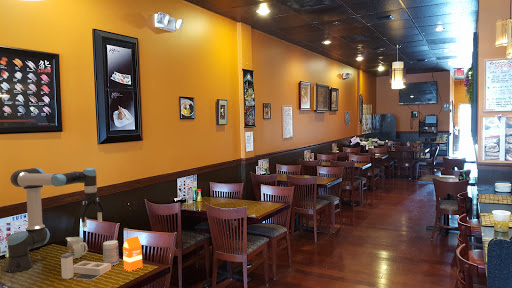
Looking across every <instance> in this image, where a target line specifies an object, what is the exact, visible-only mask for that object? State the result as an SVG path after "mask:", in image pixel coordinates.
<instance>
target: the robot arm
mask: <svg viewBox="0 0 512 288" xmlns="http://www.w3.org/2000/svg"><path fill="white" fill-rule="evenodd" d="M97 180H98V179H97V169H96V168H95V167H89V168H88V167H87V168H86V167H85V168H83V171H81V170H80V171H79V170H78V171H77V170H75V171H69V172H64V173H46V172H45V171H44V170H43V169H42V168H40V167H39V168H38V167H32V168H24V169H18V170H16V171H14V172H13V173H12V174H11V175H10V180H9V181H10V183H11V185H13V186H14V187H16V188H23V190H24V191H25V193H26V194H25V195H26V208H27V209H26V211H27V212H26V213H27V226H26V228H25V230H20V231H16V232H12V233H10V234H9V235H8V236H7V242H6V244H7V256H8V257H7V263H6V266H5V272H6V271H10V272H9V273H19V271H20V272H24V271H28V270H30V269H31V268H33V266H34V264H33V261H32V258H31V256H30V250H32V249H34V248H38V247H41V246H43V245H46V243H47V242H48V241H49V240H50V237H51V233H50V231H49V229H48V228H46V225H45V224H43V208H42V195H41V194H42V192H41V191H42V189H43V187H44V186H53V187H56V188H57V187H63V186H67V185H74V184H83V185H84V199H85V200H84V201H83V200H82V201H81V207H80V210H79V213H78V217H79V218H80V219H81V224H82V225H81V226H82V228H88V225H87V224H88V222H87V214H88V212H89V210H90V208H92V207H94V208H95V209H96V211H97V223H102V222H103V212H104V211H105V208H104V205H103V203H102V201H101V197H98V192H97V191H98V186H97V185H98V184H97Z"/></svg>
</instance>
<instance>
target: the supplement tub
mask: <svg viewBox="0 0 512 288" xmlns="http://www.w3.org/2000/svg"><path fill="white" fill-rule="evenodd" d="M102 253H103V254H102V255H103V256H102V257H103V263H111V267H113V265H114V266H117V265H118V264H119V263H120V254H119V241H118V240H107V241H106V240H105V241H104V242H103V243H102ZM116 264H117V265H116Z"/></svg>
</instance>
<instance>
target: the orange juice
mask: <svg viewBox="0 0 512 288" xmlns="http://www.w3.org/2000/svg"><path fill="white" fill-rule="evenodd" d="M142 247H143V246H142V244H141V241H140V238H139V236H138V235H136V236H132V237H128V238H125V240H124V243H123V246H122V253H123V257H122V258H123V270H125V269H126V270H125V271H127V270H128V271H127V272H129V271H131V272H133V271H132V270H134V271H136V270H135V269H137V268H140V267H142V268H143V249H142ZM137 270H138V269H137Z"/></svg>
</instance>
